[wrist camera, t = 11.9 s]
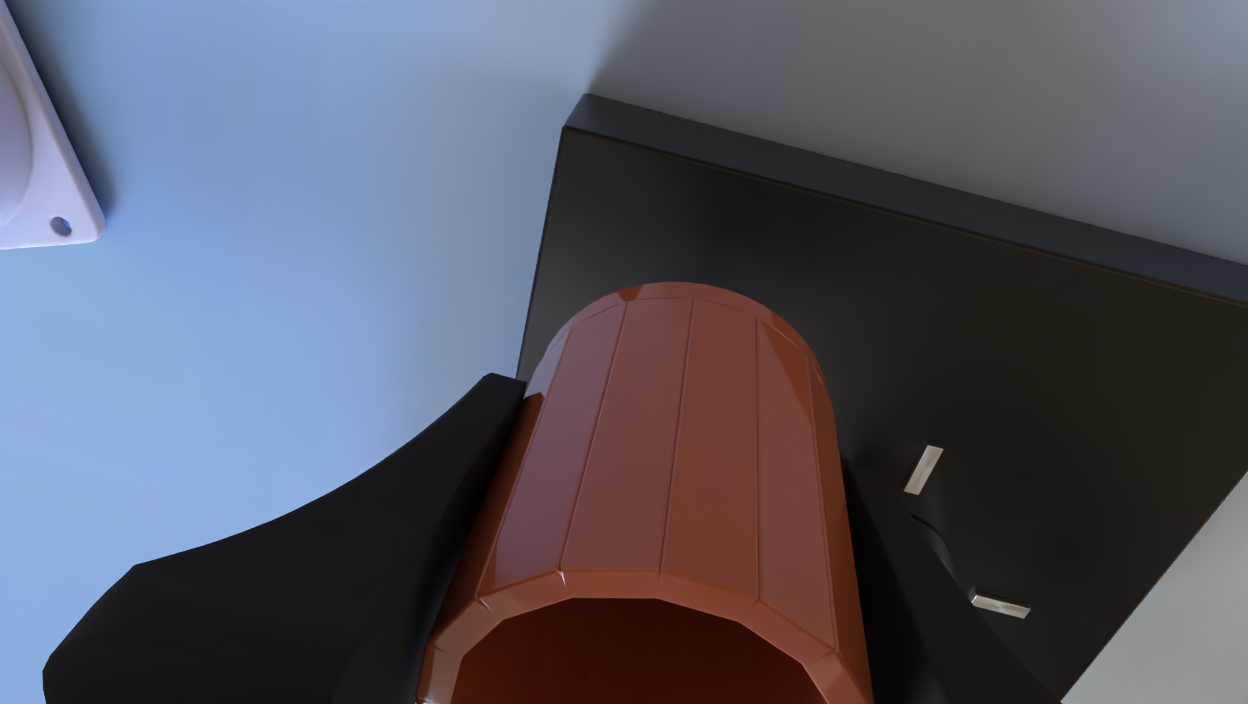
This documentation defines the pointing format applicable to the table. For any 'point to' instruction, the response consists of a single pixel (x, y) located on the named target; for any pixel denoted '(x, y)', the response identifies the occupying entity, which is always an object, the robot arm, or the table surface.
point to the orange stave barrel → (660, 522)
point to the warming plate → (942, 352)
